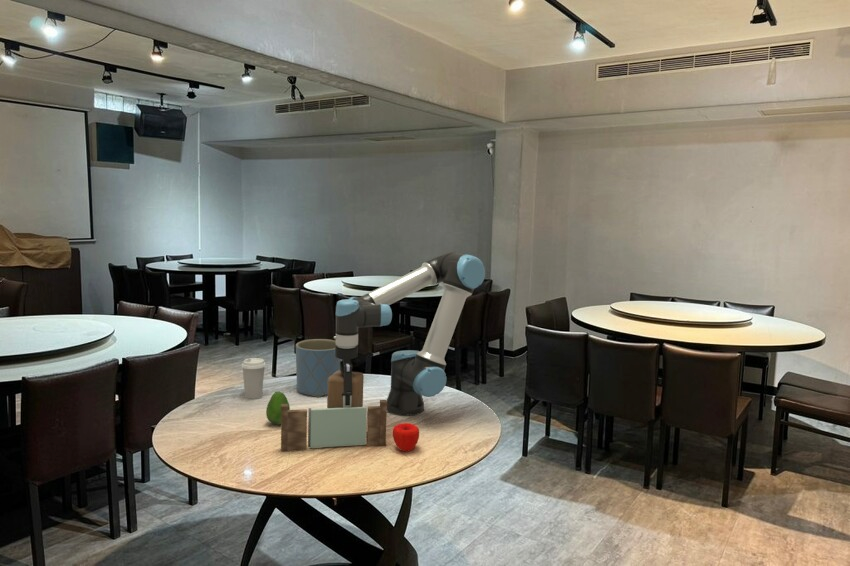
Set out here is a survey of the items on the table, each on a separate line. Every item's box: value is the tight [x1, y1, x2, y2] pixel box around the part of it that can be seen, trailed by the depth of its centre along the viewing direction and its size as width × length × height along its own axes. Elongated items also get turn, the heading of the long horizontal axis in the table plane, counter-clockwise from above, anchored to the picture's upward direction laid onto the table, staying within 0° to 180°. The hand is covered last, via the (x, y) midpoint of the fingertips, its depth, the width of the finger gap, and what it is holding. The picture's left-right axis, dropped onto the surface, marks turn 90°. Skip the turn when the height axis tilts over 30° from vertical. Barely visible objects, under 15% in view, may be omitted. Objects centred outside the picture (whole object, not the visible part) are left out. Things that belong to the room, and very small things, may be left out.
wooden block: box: [326, 370, 365, 408], centre depth 197 cm, size 10×10×20 cm
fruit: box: [265, 391, 291, 426], centre depth 205 cm, size 8×8×12 cm
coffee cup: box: [240, 357, 267, 400], centre depth 231 cm, size 10×10×15 cm
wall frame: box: [280, 399, 388, 453], centre depth 187 cm, size 34×2×15 cm, turn 103°
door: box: [307, 406, 368, 449], centre depth 187 cm, size 19×1×13 cm, turn 103°
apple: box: [392, 422, 420, 452], centre depth 188 cm, size 9×9×8 cm
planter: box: [295, 338, 341, 398], centre depth 241 cm, size 19×19×20 cm
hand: (345, 406), depth 197 cm, fingers closed on wooden block, 12 cm apart
